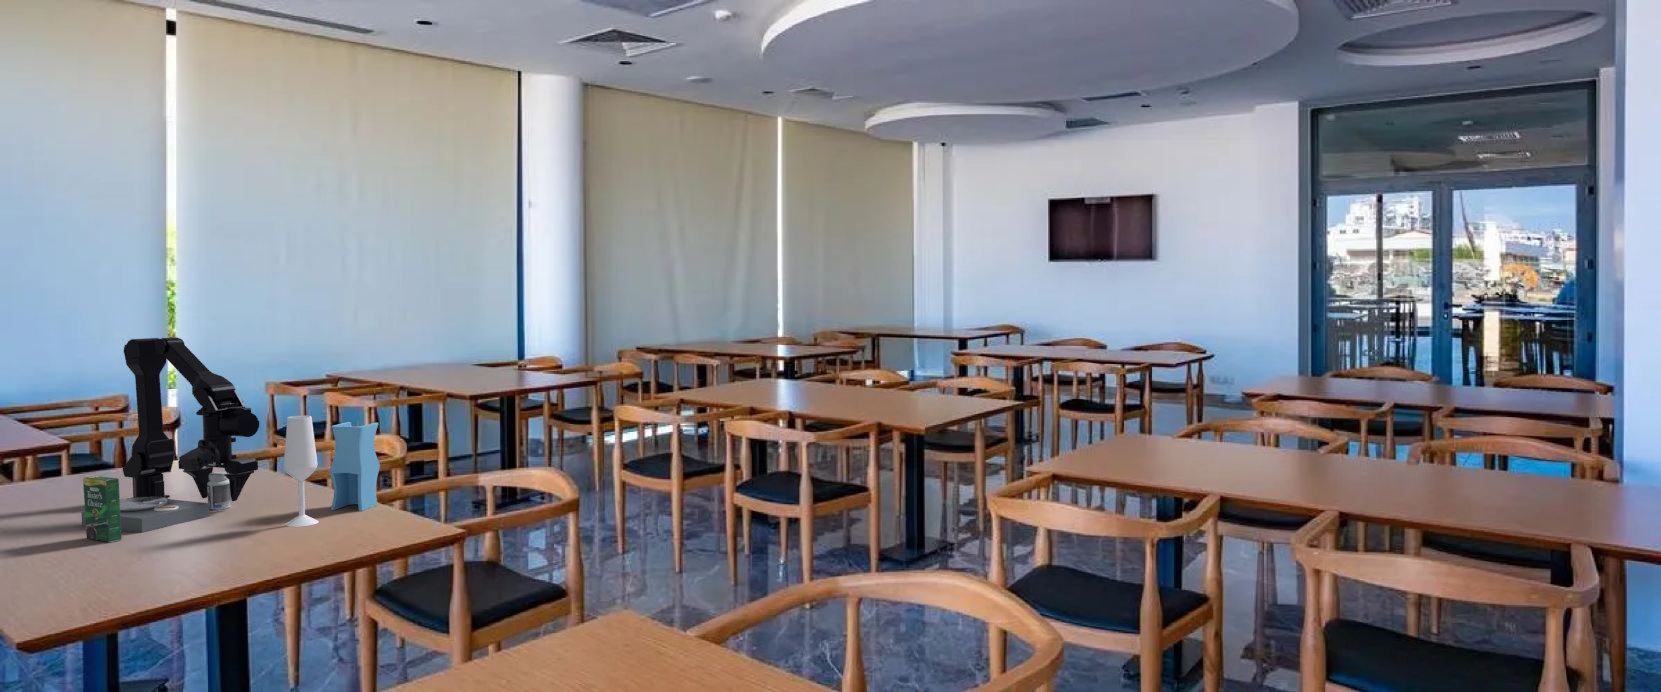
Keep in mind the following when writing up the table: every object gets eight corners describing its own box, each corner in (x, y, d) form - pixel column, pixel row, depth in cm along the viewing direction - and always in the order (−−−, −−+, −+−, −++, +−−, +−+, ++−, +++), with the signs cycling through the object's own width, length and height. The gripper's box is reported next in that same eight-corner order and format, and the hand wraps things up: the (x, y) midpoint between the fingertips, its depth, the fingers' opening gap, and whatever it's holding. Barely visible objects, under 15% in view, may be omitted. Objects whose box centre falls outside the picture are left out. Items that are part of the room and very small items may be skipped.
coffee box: (84, 538, 209) (81, 476, 208) (98, 535, 212) (96, 474, 211) (107, 543, 206) (105, 480, 205) (122, 540, 208) (120, 477, 207)
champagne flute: (307, 518, 229) (305, 414, 227) (325, 522, 225) (322, 416, 224) (278, 524, 223) (276, 417, 221) (296, 528, 219) (293, 419, 218)
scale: (81, 525, 220) (81, 509, 220) (151, 509, 235) (150, 494, 235) (142, 532, 214) (141, 515, 214) (209, 515, 230) (208, 500, 229)
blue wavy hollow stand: (380, 503, 244) (378, 422, 243) (362, 511, 236) (360, 427, 235) (349, 502, 245) (348, 421, 243) (330, 509, 237) (328, 426, 236)
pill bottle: (235, 506, 240) (234, 471, 239) (221, 510, 235) (220, 475, 235) (217, 505, 240) (216, 470, 240) (203, 509, 236) (202, 474, 235)
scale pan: (96, 509, 222) (95, 504, 222) (143, 499, 232) (143, 495, 232) (132, 513, 218) (132, 508, 218) (179, 502, 229) (179, 498, 229)
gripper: (155, 437, 232) (158, 503, 233) (217, 441, 226) (219, 509, 227) (199, 430, 242) (201, 494, 243) (259, 434, 237) (260, 499, 238)
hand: (219, 499), depth 238 cm, fingers open, 9 cm apart
